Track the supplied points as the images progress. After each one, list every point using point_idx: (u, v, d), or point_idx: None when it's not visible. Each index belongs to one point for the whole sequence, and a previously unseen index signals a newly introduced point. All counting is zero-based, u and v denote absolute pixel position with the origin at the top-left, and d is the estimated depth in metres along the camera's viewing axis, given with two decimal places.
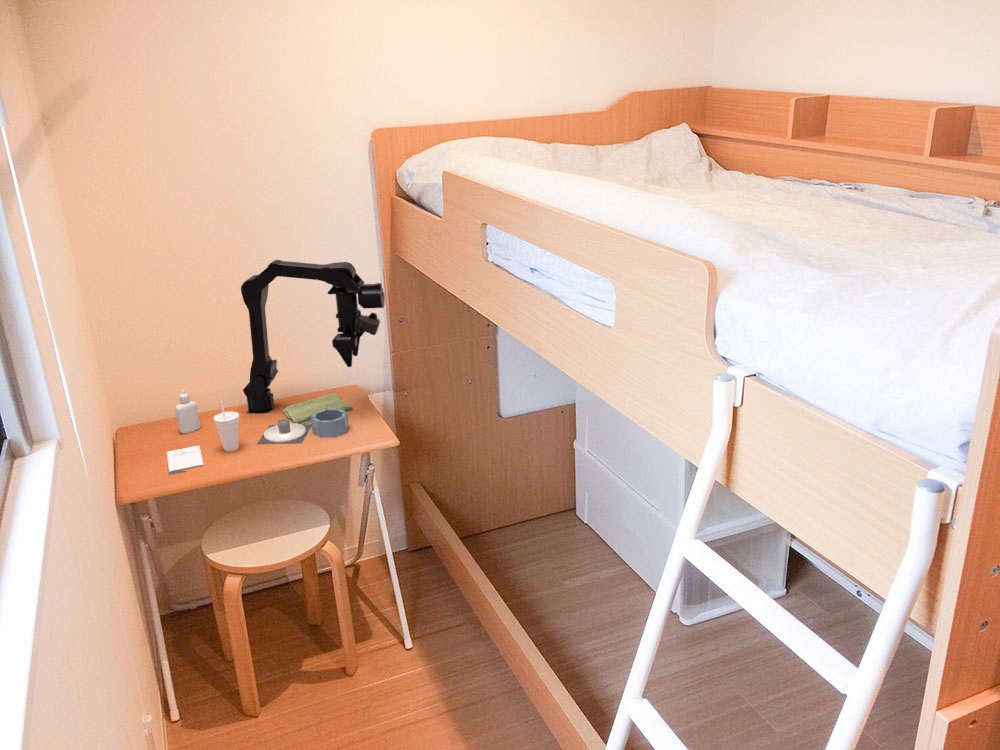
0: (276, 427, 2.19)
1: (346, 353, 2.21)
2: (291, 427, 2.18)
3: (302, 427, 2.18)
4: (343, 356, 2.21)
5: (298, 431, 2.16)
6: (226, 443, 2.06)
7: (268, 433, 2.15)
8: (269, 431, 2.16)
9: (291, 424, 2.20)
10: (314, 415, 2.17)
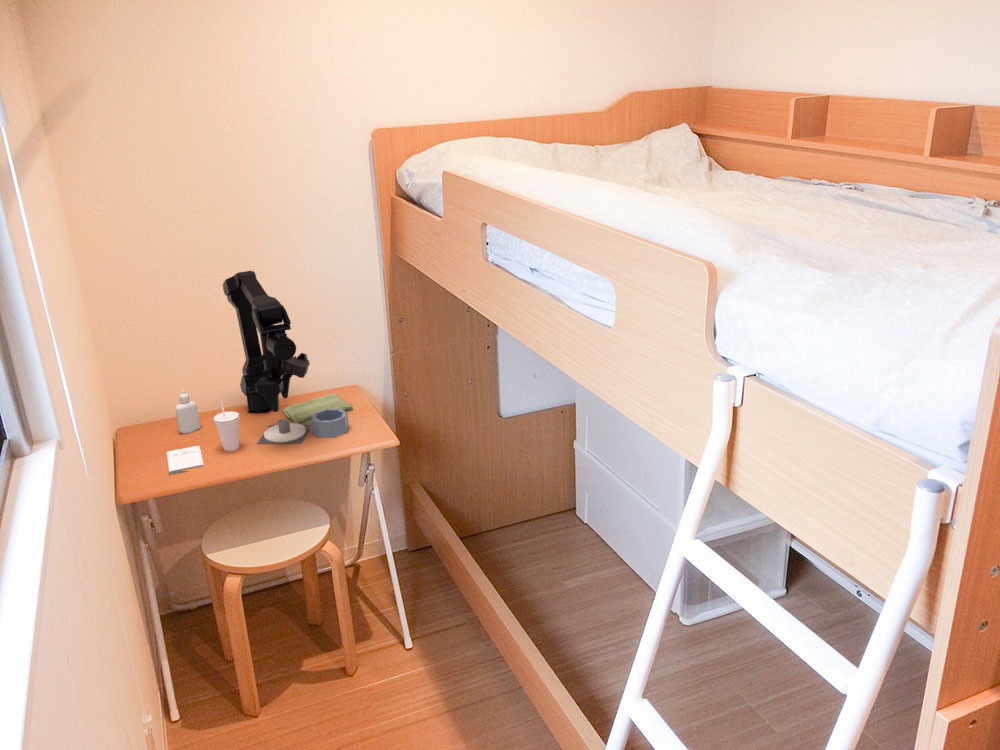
0: (276, 427, 2.19)
1: (272, 397, 2.06)
2: (291, 427, 2.18)
3: (302, 427, 2.18)
4: (268, 401, 2.07)
5: (298, 431, 2.16)
6: (226, 443, 2.06)
7: (268, 433, 2.15)
8: (269, 431, 2.16)
9: (291, 424, 2.20)
10: (314, 415, 2.17)
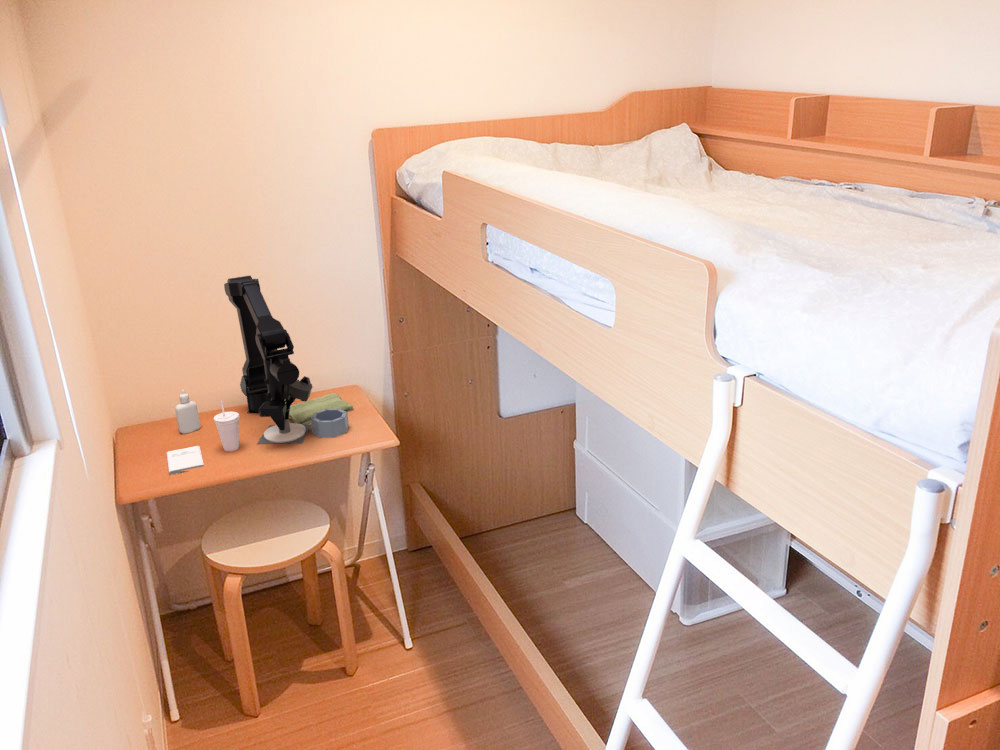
0: (276, 427, 2.19)
1: (278, 417, 2.12)
2: (291, 427, 2.18)
3: (302, 427, 2.18)
4: (275, 420, 2.12)
5: (298, 430, 2.16)
6: (226, 443, 2.06)
7: (268, 433, 2.15)
8: (269, 431, 2.16)
9: (291, 424, 2.20)
10: (314, 415, 2.17)
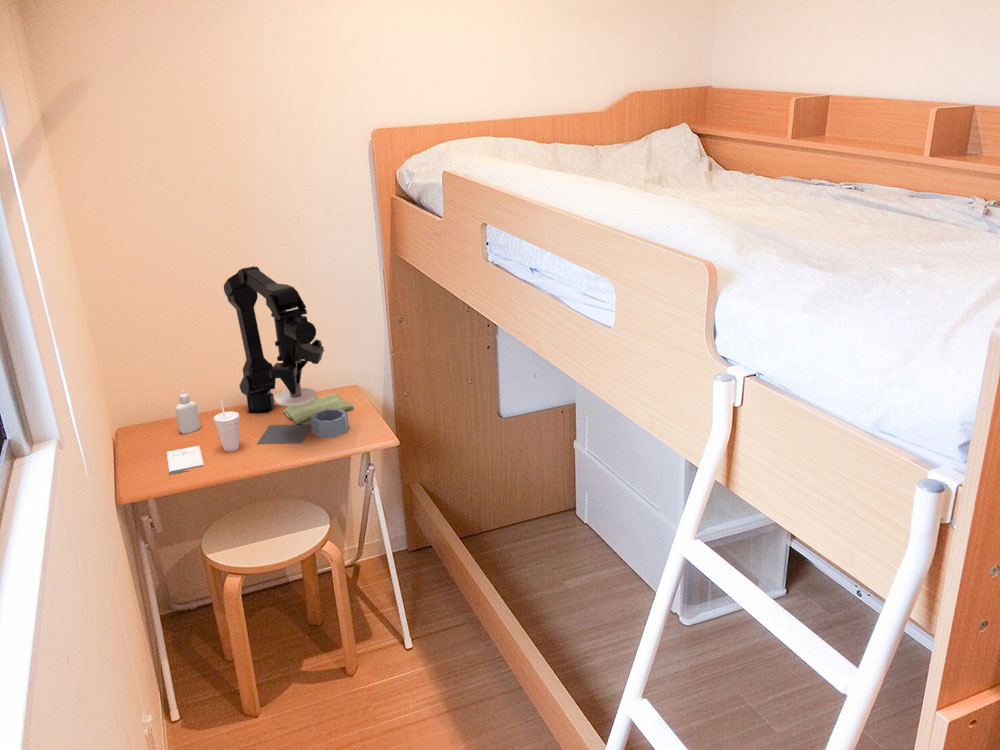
0: (287, 391, 2.15)
1: (289, 380, 2.08)
2: (302, 391, 2.15)
3: (313, 391, 2.15)
4: (286, 383, 2.08)
5: (309, 395, 2.13)
6: (226, 443, 2.06)
7: (279, 397, 2.12)
8: (280, 395, 2.13)
9: (302, 389, 2.17)
10: (314, 415, 2.17)
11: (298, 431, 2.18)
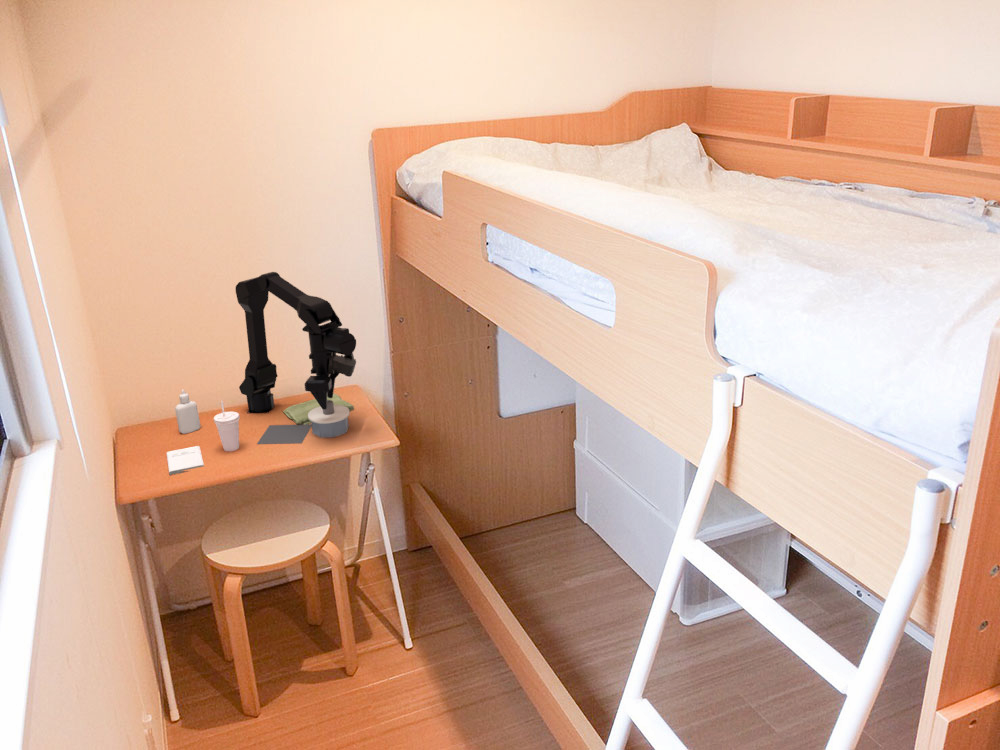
0: (319, 408, 2.19)
1: (320, 395, 2.09)
2: (334, 408, 2.18)
3: (345, 408, 2.18)
4: (317, 398, 2.09)
5: (342, 412, 2.16)
6: (226, 443, 2.06)
7: (312, 414, 2.15)
8: (313, 412, 2.16)
9: (334, 406, 2.20)
10: None
11: (298, 431, 2.18)
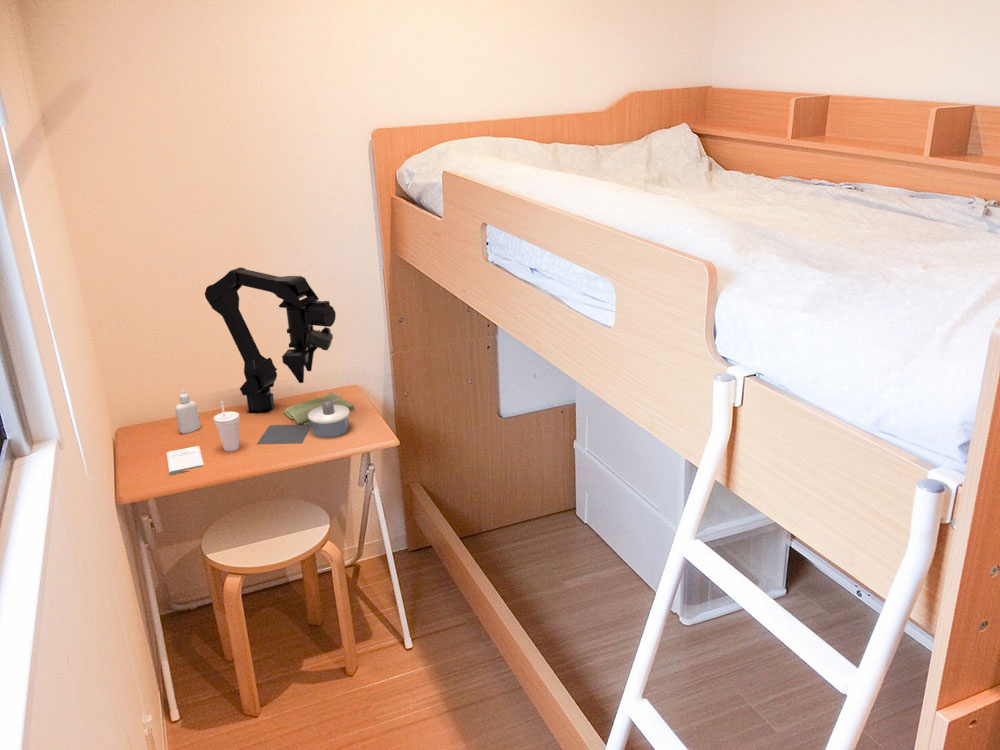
0: (319, 408, 2.19)
1: (297, 369, 2.16)
2: (334, 408, 2.18)
3: (345, 408, 2.18)
4: (294, 372, 2.17)
5: (342, 412, 2.16)
6: (226, 443, 2.06)
7: (312, 414, 2.15)
8: (313, 412, 2.16)
9: (334, 406, 2.20)
10: None
11: (298, 431, 2.18)
